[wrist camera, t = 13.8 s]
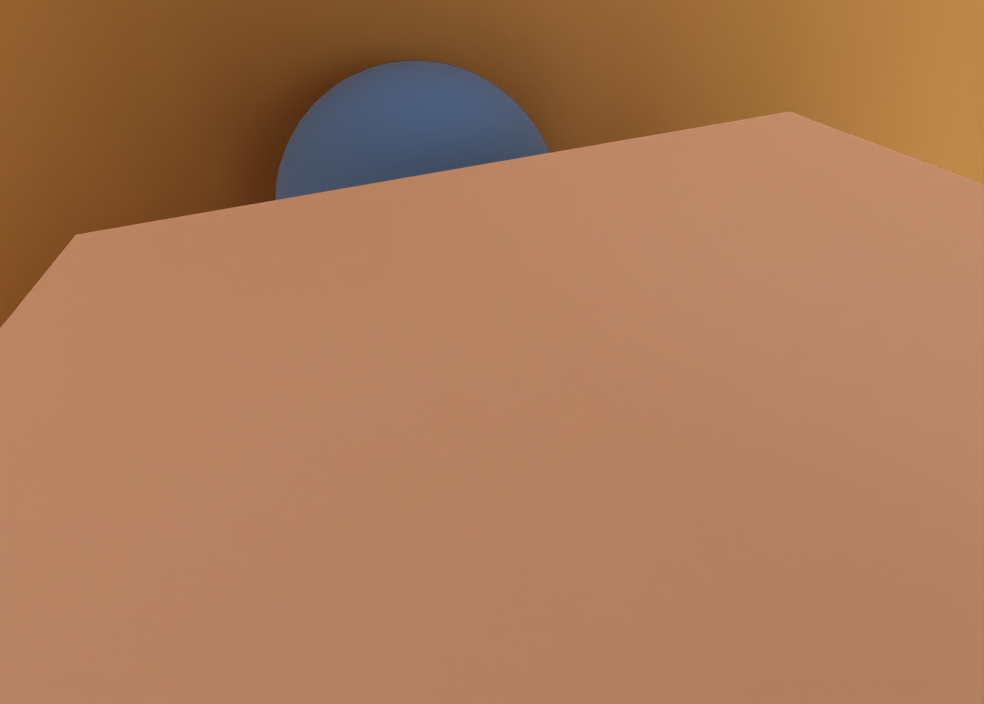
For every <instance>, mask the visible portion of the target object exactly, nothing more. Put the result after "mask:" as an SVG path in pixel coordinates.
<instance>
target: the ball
mask: <svg viewBox="0 0 984 704" xmlns="http://www.w3.org/2000/svg"><path fill="white" fill-rule="evenodd" d="M546 153H550V152H549V150H548V148H547V146H546V143H545V141H544V139H543V137H542V135H541V134H540V132H539V131H538V129H537V128H536V126H535V125H534V123H533V122H532V120H531V119H530V118H529V116H528V115H527V114H526V113H525V111H524V110H523V109H522V108H521V107H520V106H519V105H518V104H517V103H516V102H515V101H514V100H513V99H512V98H511V97H509V96H508V95H507V94H506V93H505V92H503V91H502V90H501V89H500V88H498V87H497V86H496V85H494V84H492V83H491V82H489V81H487V80H485V79H484V78H482V77H480V76H478V75H476V74H475V73H472V72H470V71H467V70H464V69H461V68H458V67H455V66H452V65H448V64H444V63H439V62H431V61H397V62H391V63H385V64H381V65H377V66H374V67H371V68H368V69H366V70H363V71H361V72H359V73H356V74H354V75H352V76H350V77H348V78H346V79H344V80H343V81H341V82H340V83H338V84H337V85H335V86H334V87H332V88H331V89H330V90H329V91H328V92H326V93H325V94H324V95H323V96H322V97H320V98H319V99H318V100H317V101H316V102H315V103H314V104H313V105H312V107H311V108H310V109H309V110H308V111H307V113H306V114H305V115H304V116H303V118H302V119H301V120H300V122H299V123H298V125H297V127H296V128H295V130H294V132H293V134H292V135H291V137H290V139H289V141H288V143H287V146H286V149H285V151H284V154H283V157H282V160H281V163H280V166H279V170H278V176H277V181H276V193H275V200H279V199H285V198H291V197H297V196H303V195H308V194H314V193H320V192H326V191H331V190H337V189H343V188H349V187H355V186H360V185H366V184H372V183H378V182H384V181H389V180H395V179H401V178H407V177H413V176H418V175H424V174H430V173H436V172H441V171H447V170H453V169H459V168H465V167H470V166H476V165H482V164H488V163H494V162H499V161H505V160H511V159H517V158H523V157H528V156H534V155H540V154H546Z"/></svg>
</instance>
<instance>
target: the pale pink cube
mask: <svg viewBox="0 0 984 704" xmlns="http://www.w3.org/2000/svg"><path fill="white" fill-rule="evenodd" d="M0 704H984V184H983V183H980V182H977V181H975V180H972V179H969V178H966V177H964V176H961V175H958V174H956V173H953V172H950V171H948V170H945V169H942V168H940V167H937V166H934V165H932V164H929V163H926V162H924V161H921V160H918V159H916V158H913V157H910V156H908V155H905V154H902V153H900V152H897V151H894V150H892V149H889V148H886V147H884V146H881V145H878V144H876V143H873V142H870V141H868V140H865V139H862V138H860V137H857V136H854V135H852V134H849V133H846V132H843V131H841V130H838V129H835V128H833V127H830V126H827V125H825V124H822V123H819V122H817V121H814V120H811V119H809V118H806V117H803V116H801V115H798V114H795V113H793V112H790V111H789V112H783V113H777V114H772V115H766V116H760V117H754V118H748V119H743V120H737V121H731V122H725V123H719V124H714V125H708V126H702V127H696V128H691V129H685V130H679V131H673V132H667V133H662V134H656V135H650V136H644V137H638V138H633V139H627V140H621V141H615V142H609V143H604V144H598V145H592V146H586V147H580V148H575V149H569V150H563V151H557V152H552V153H546V154H540V155H534V156H528V157H523V158H517V159H511V160H505V161H499V162H494V163H488V164H482V165H476V166H470V167H465V168H459V169H453V170H447V171H441V172H436V173H430V174H424V175H418V176H413V177H407V178H401V179H395V180H389V181H384V182H378V183H372V184H366V185H360V186H355V187H349V188H343V189H337V190H331V191H326V192H320V193H314V194H308V195H303V196H297V197H291V198H285V199H279V200H274V201H268V202H262V203H256V204H250V205H245V206H239V207H233V208H227V209H221V210H216V211H210V212H204V213H198V214H192V215H187V216H181V217H175V218H169V219H164V220H158V221H152V222H146V223H140V224H135V225H129V226H123V227H117V228H111V229H106V230H100V231H94V232H88V233H82V234H77V235H75V236H74V237H73V239H72V240H71V241H70V242H69V244H68V245H67V246H66V247H65V249H64V250H63V251H62V252H61V254H60V255H59V256H58V257H57V259H56V260H55V261H54V262H53V264H52V265H51V266H50V267H49V268H48V270H47V271H46V272H45V273H44V275H43V276H42V277H41V278H40V280H39V281H38V282H37V283H36V285H35V286H34V287H33V288H32V290H31V291H30V292H29V293H28V295H27V296H26V297H25V298H24V300H23V301H22V302H21V303H20V304H19V306H18V307H17V308H16V309H15V311H14V312H13V313H12V314H11V316H10V317H9V318H8V319H7V321H6V322H5V323H4V324H3V326H2V327H1V328H0Z"/></svg>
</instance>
